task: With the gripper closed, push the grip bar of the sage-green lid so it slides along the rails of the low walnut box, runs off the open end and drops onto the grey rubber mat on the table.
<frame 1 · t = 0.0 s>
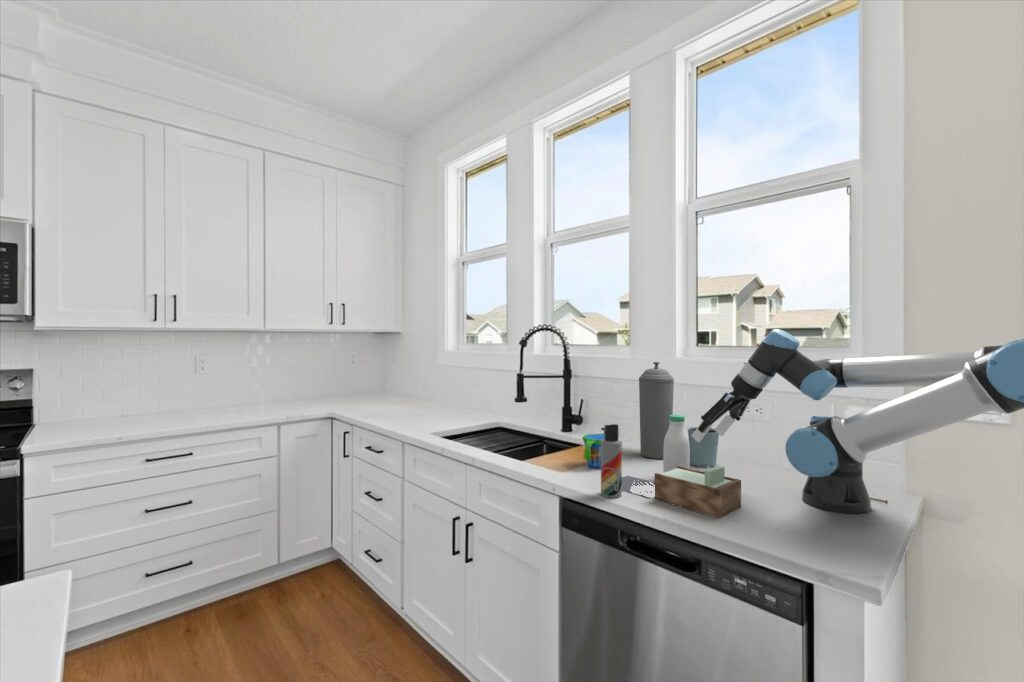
hand: (707, 435, 142), 15 cm above the worktop, tool tilted 35°, fingers open, 13 cm apart
lid: (694, 482, 130), point 5 cm above the worktop, touching walnut box
canister: (655, 456, 180), on the worktop
teal cup: (703, 464, 169), on the worktop
walnut box: (696, 503, 129), on the worktop
snack cup: (598, 466, 166), on the worktop
lotion bottle: (611, 495, 136), on the worktop
milk bottle: (676, 480, 151), on the worktop
mat: (638, 486, 144), on the worktop
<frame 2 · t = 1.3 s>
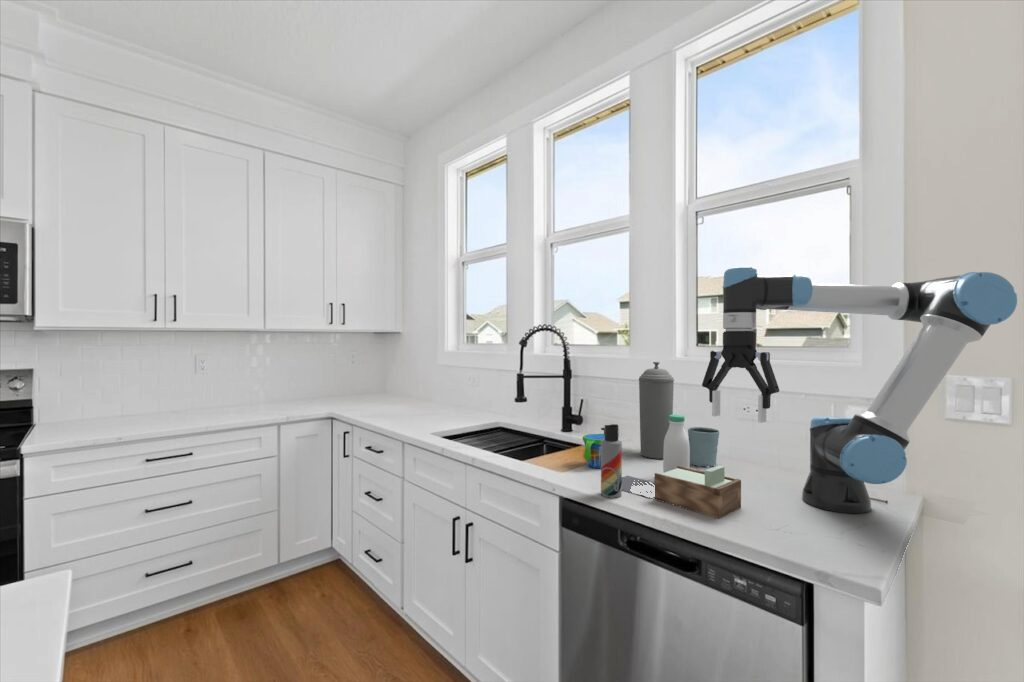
hand: (738, 418, 121), 24 cm above the worktop, tool pointing down, fingers open, 11 cm apart
nothing on the worktop moved.
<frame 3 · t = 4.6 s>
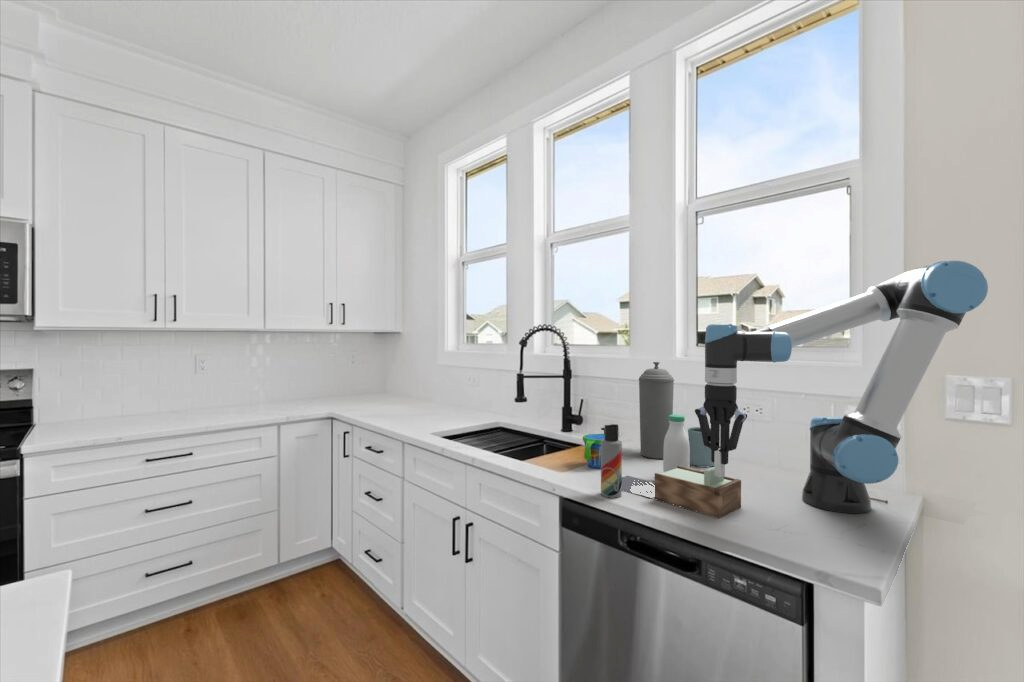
hand: (719, 475, 124), 9 cm above the worktop, tool pointing down, fingers closed
lid: (694, 482, 130), point 6 cm above the worktop, touching gripper
everything else where it was.
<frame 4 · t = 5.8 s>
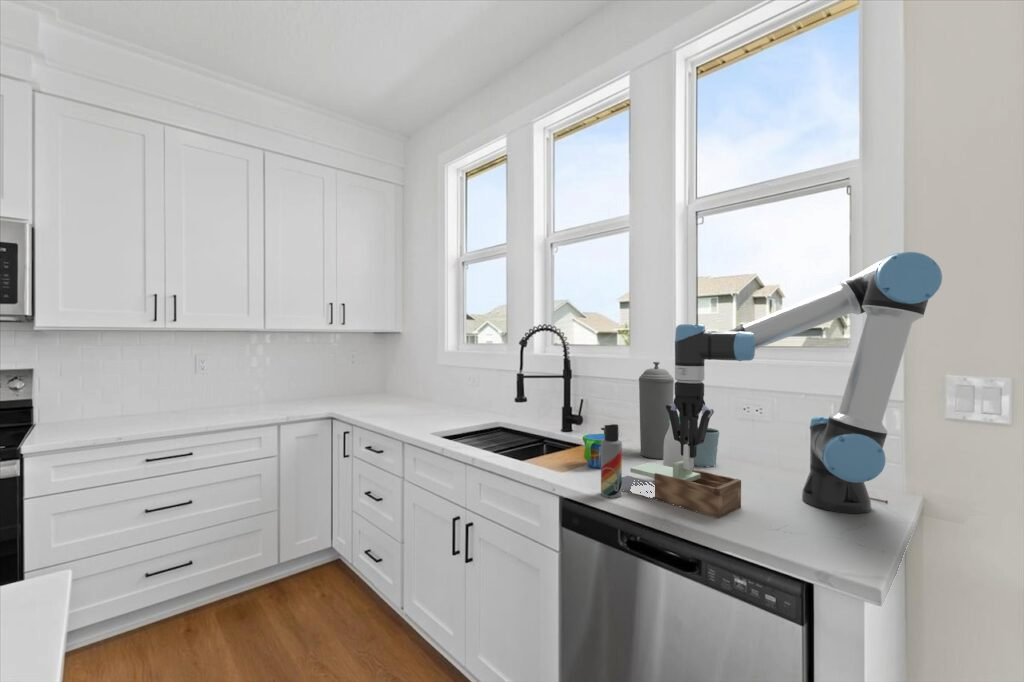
hand: (688, 468, 131), 9 cm above the worktop, tool pointing down, fingers closed
lid: (664, 475, 136), point 6 cm above the worktop, touching walnut box
everything else where it was.
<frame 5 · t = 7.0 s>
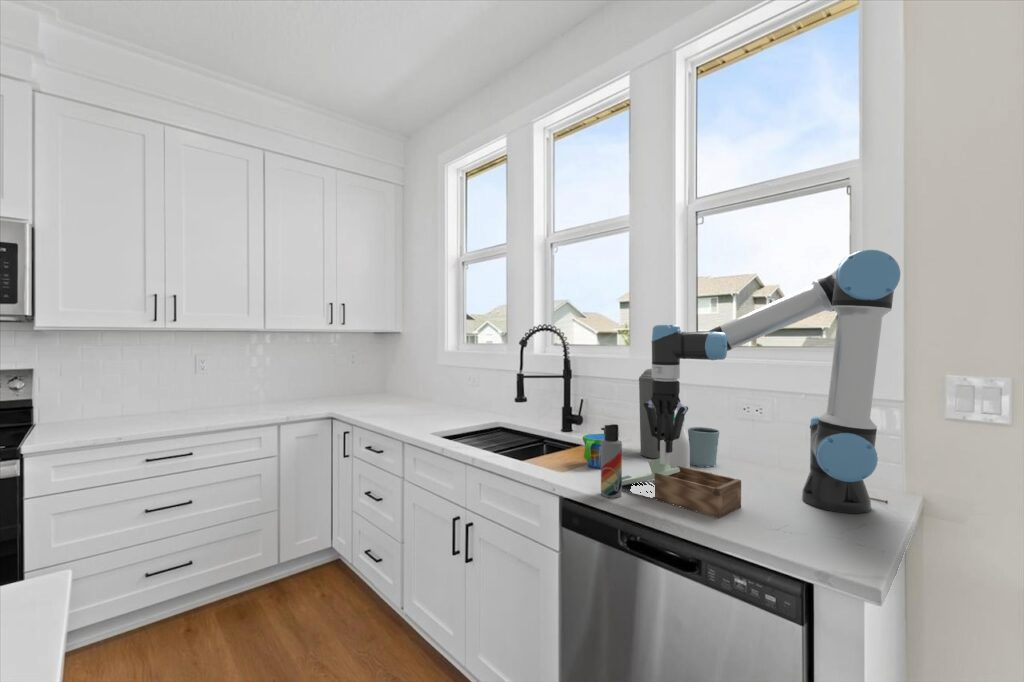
hand: (664, 463, 137), 9 cm above the worktop, tool pointing down, fingers closed
lid: (647, 479, 141), point 3 cm above the worktop, tilted 22°, touching gripper, mat, walnut box
everything else where it was.
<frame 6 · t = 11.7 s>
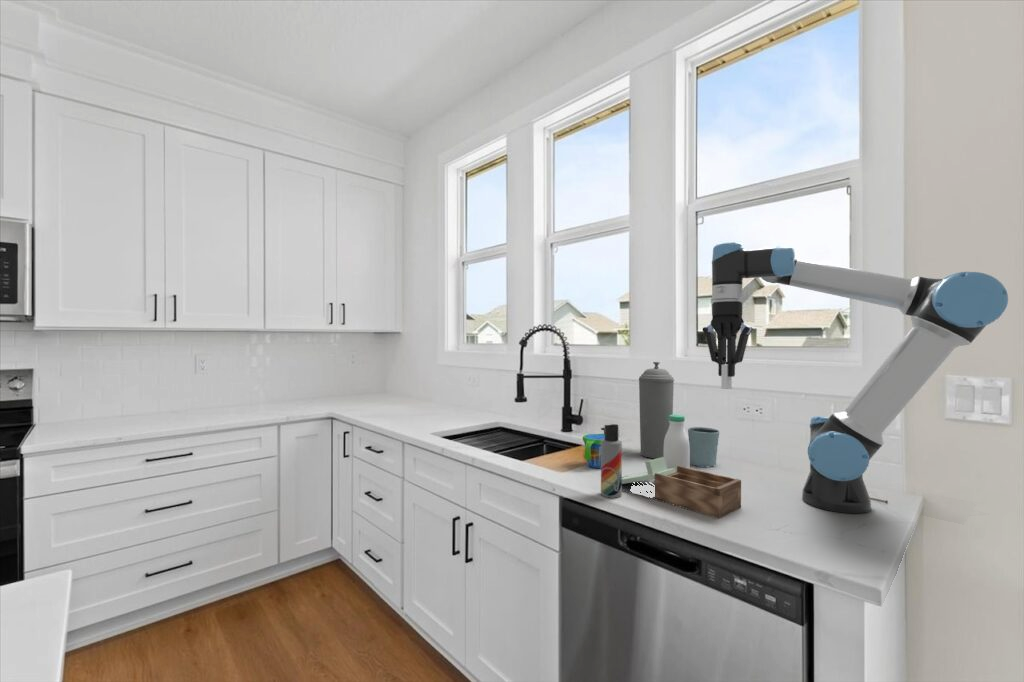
hand: (726, 388, 131), 30 cm above the worktop, tool pointing down, fingers closed
lid: (643, 478, 142), point 3 cm above the worktop, tilted 20°, touching mat, walnut box
everything else where it was.
at the end: lid inside the target area (4.7 cm from its centre), point 2.9 cm above the worktop; lid moved 16.0 cm from its start; lid tilted 20° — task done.
